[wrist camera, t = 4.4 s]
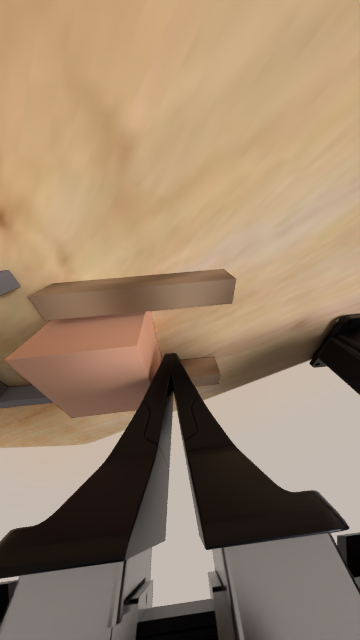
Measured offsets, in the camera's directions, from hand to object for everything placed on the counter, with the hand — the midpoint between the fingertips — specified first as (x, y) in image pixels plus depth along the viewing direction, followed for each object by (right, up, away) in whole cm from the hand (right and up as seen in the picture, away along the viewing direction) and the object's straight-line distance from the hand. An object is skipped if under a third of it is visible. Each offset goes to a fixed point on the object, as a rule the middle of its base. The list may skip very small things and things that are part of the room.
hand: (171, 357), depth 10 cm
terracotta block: (-4, +1, +2) cm, 5 cm away
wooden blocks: (-2, +1, +2) cm, 3 cm away
